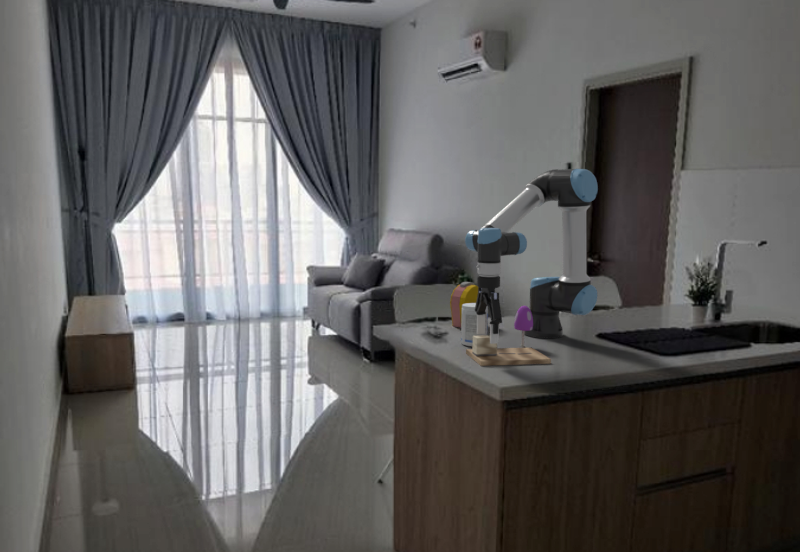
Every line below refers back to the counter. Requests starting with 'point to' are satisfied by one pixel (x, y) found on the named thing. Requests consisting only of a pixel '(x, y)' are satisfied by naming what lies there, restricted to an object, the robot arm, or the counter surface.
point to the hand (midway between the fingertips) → (487, 338)
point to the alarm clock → (462, 300)
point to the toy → (523, 321)
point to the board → (511, 357)
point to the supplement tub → (470, 323)
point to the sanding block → (483, 346)
